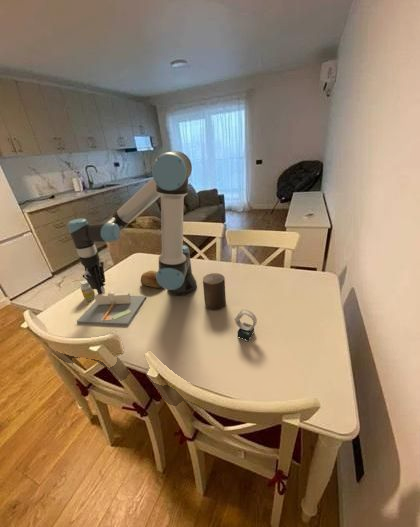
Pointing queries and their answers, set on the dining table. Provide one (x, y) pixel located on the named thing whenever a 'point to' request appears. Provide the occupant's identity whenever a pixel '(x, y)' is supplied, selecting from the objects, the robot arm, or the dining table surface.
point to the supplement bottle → (87, 290)
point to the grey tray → (112, 313)
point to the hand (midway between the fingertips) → (103, 297)
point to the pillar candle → (214, 291)
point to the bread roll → (150, 279)
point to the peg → (112, 299)
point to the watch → (245, 324)
